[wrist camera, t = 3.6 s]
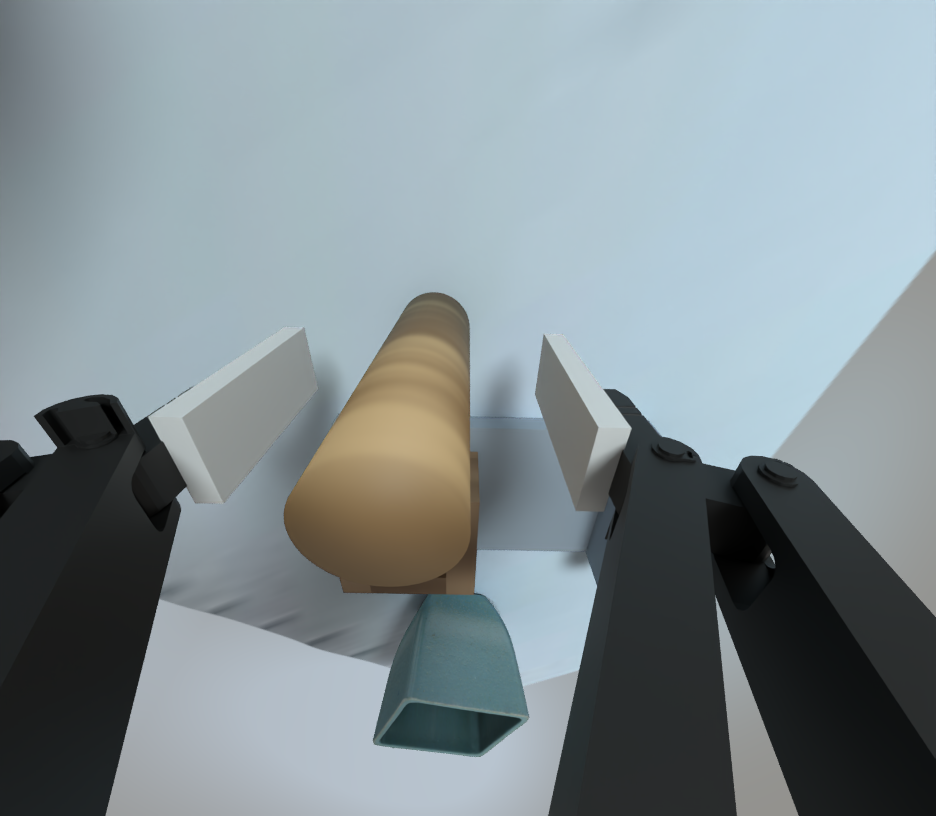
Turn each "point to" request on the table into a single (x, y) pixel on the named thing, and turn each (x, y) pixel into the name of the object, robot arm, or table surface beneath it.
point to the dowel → (395, 459)
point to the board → (530, 493)
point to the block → (455, 579)
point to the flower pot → (452, 681)
